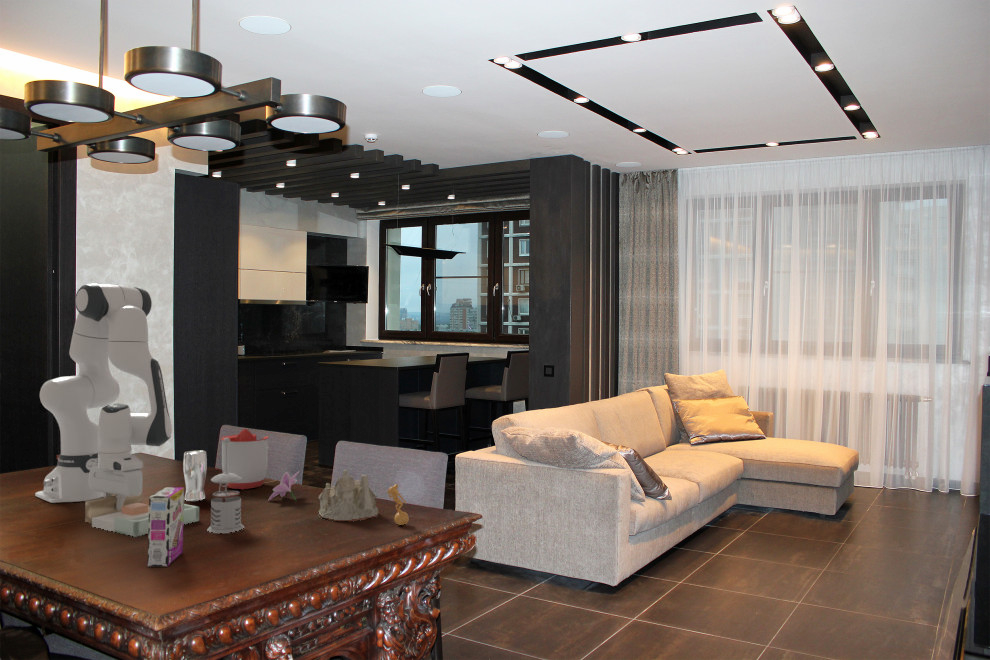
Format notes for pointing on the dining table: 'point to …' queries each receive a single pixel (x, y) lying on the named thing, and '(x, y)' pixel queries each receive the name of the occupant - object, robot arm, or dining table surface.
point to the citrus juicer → (245, 459)
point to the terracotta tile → (135, 509)
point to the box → (142, 525)
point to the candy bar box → (165, 526)
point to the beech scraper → (106, 506)
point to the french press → (226, 504)
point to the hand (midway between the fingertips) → (114, 508)
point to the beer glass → (195, 474)
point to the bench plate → (108, 520)
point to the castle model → (348, 499)
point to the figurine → (401, 516)
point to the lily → (284, 485)
